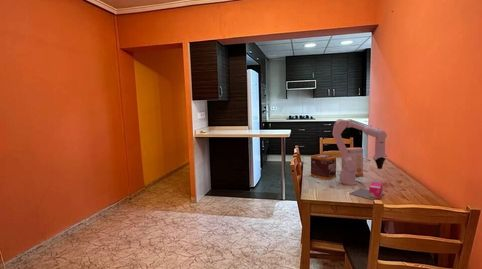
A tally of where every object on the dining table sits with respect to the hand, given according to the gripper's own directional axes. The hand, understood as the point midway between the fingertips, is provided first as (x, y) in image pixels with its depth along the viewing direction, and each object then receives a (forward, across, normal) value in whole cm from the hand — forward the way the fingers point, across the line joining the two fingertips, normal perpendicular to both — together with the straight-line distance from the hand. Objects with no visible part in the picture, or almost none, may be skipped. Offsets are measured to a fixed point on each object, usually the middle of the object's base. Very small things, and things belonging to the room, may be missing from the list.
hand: (379, 168), depth 166 cm
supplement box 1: (+11, -10, +36) cm, 39 cm away
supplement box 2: (+7, -17, -6) cm, 20 cm away
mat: (+10, -24, -4) cm, 27 cm away
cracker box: (+11, +7, +23) cm, 26 cm away
